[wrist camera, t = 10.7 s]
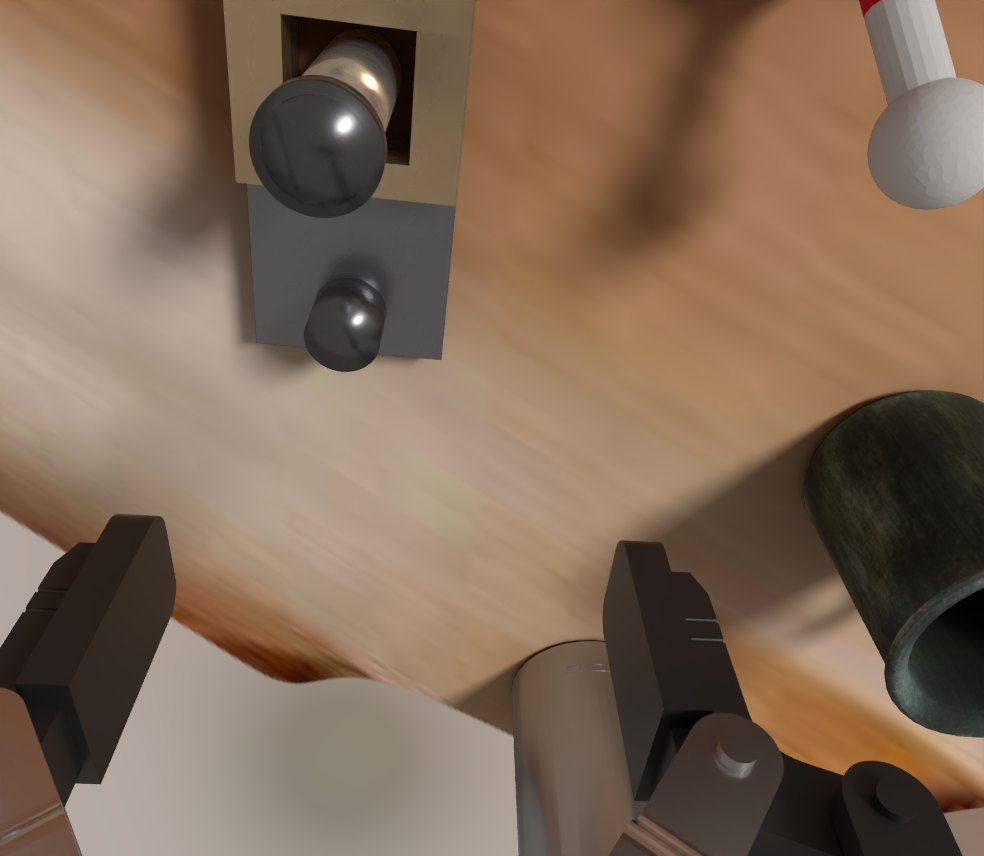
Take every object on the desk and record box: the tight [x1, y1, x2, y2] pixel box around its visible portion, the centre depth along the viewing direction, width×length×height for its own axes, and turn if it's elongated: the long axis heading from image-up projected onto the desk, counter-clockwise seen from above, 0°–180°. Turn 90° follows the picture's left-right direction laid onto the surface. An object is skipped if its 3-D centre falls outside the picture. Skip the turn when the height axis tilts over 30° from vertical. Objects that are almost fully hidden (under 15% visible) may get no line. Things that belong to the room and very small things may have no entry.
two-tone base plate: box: [223, 0, 475, 372], centre depth 27 cm, size 22×8×5 cm, turn 173°
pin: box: [249, 29, 402, 218], centre depth 25 cm, size 4×4×10 cm
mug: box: [804, 391, 984, 737], centre depth 37 cm, size 11×15×12 cm
